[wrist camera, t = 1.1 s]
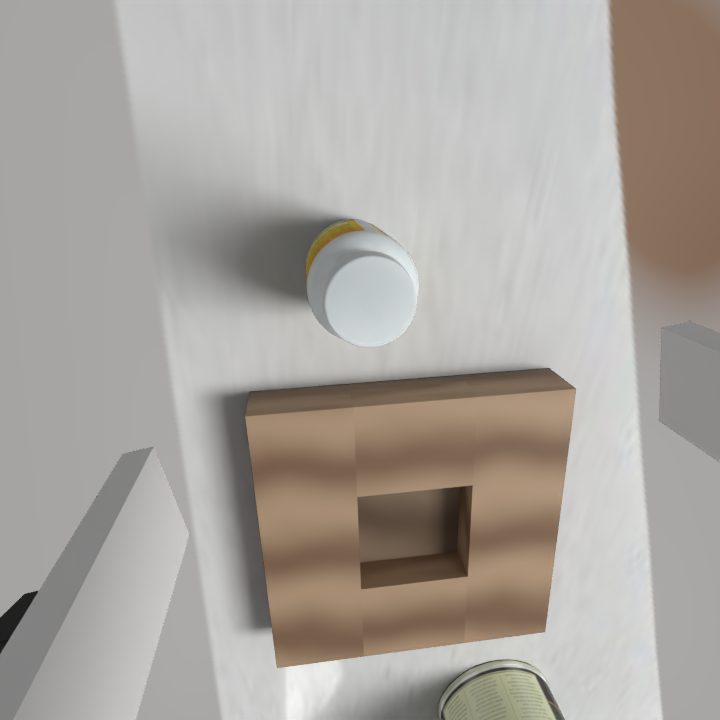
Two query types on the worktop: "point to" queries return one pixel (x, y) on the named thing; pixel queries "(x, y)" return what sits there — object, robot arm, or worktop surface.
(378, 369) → the worktop surface
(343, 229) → the supplement bottle
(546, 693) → the coffee can
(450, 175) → the worktop surface
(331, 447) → the socket block
